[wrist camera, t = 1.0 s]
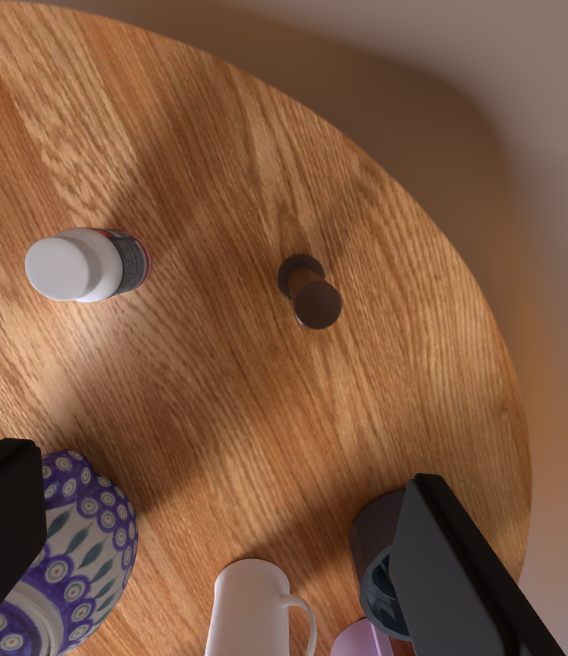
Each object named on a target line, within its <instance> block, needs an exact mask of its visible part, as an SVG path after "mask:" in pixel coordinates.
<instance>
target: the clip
mask: <svg viewBox="0 0 568 656" xmlns="http://www.w3.org/2000/svg"><path fill="white" fill-rule="evenodd" d="M411 643H412V642H411ZM412 646H413V643H412ZM413 649H414V646H413ZM414 652H415V649H414ZM415 655H416V652H415ZM330 656H394V654H393V650H392V647H391V643H390V639H389V636H388V635H387V634H385V633H383V632H381V631H379V630H378V629H377V628H376V627H375V626H374V625H373V624H372V623H371V622H370V621H369V620H368V619H367V618H365V619H362V620H359V621H357V622H355V623H353V624H351V625H350V626H348V627H347V628H345V629H344V630H343V631H342V632H341V633H340V634H339V635H338V636H337V638H336V639H335V641H334V643H333V645H332V648H331V652H330ZM416 656H417V655H416Z"/></svg>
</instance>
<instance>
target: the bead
mask: <svg viewBox="0 0 568 656" xmlns="http://www.w3.org/2000/svg"><path fill="white" fill-rule="evenodd" d="M386 574H387V578H388V580H389V582H390V583H391V584H392V585H393V583H392V580H391V577H390V572H389V567H388V568H387V573H386Z"/></svg>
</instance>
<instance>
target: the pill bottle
mask: <svg viewBox="0 0 568 656" xmlns="http://www.w3.org/2000/svg"><path fill="white" fill-rule="evenodd" d="M25 269H26V273H27V276H28V279H29V281H30V282H31V284H32V285H33V286H34V288H35V289H36V290H37V291H38V292H40V293H41V294H42V295H44V296H46V297H48V298H50V299H53V300H58V301H68V300H75V301H78V302H86V303H88V302H96V301H100V300H103V299H106V298H109V297H112V296H114V295H117V294H120V293H124V292H127V291H131V290H134V289H136V288H138V287H140V286H141V285H142V284H143V283H144V282H145V281H146V280H147V278H148V276H149V273H150V270H151V259H150V255H149V252H148V250H147V248H146V246H145V245H144V243H143V242H142V241H141V240H140V239H139V238H138V237H136V236H135V235H133V234H131V233H129V232H127V231H123V230H114V229H96V228H71V229H67V230H64V231H62V232H60V233H58V234H57V235H55V236H54V237H46V238H43V239H40V240H38V241H37V242H35V243H34V244H33V245H32V246H31V247H30V248H29V250H28V252H27V255H26V258H25Z"/></svg>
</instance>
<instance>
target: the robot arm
mask: <svg viewBox="0 0 568 656" xmlns="http://www.w3.org/2000/svg"><path fill="white" fill-rule="evenodd" d="M46 539H47V522H46V509H45V496H44V483H43V470H42V457H41V450H40V448H39V447H36V445H35V443H34V441H32V440H28V439H16V438H4V439H2V440H0V605H1V603H2V602H3V601H4V599H5V598H6V597H7V595H8V594H9V593H10V592H11V590H12V589H13V588H14V586H15V585H16V584H17V582H18V581H19V580H20V578H21V577H22V576H23V575H24V573H25V572H26V571H27V569H28V568H29V567H30V565H31V564H32V563H33V561H34V560H35V559H36V557H37V556H38V555H39V554H40V552H41V551H42V549H43V547H44V545H45V542H46ZM389 572H390V577H391V580H392V583H393V586H394V589H395V592H396V595H397V598H398V601H399V604H400V607H401V610H402V613H403V616H404V619H405V622H406V625H407V628H408V631H409V634H410V637H411V640H412V643H413V646H414V649H415V652H416V655H417V656H566V655H565V654H564V653H563V651H562V649H561V648H560V647H559V645H558V644H557V642H556V641H555V639H554V638H553V636H552V635H551V633H550V632H549V631H548V629H547V628H546V626H545V625H544V623H543V622H542V620H541V619H540V618H539V616H538V615H537V613H536V612H535V610H534V609H533V607H532V606H531V605H530V603H529V602H528V600H527V599H526V597H525V596H524V594H523V593H522V592H521V590H520V589H519V587H518V586H517V584H516V583H515V581H514V580H513V578H512V577H511V576H510V574H509V573H508V571H507V570H506V568H505V567H504V565H503V564H502V563H501V561H500V560H499V558H498V557H497V555H496V554H495V552H494V551H493V550H492V548H491V547H490V545H489V544H488V542H487V541H486V539H485V538H484V537H483V535H482V534H481V532H480V531H479V529H478V528H477V526H476V525H475V524H474V522H473V521H472V519H471V518H470V516H469V515H468V513H467V512H466V511H465V509H464V508H463V506H462V505H461V503H460V502H459V500H458V499H457V498H456V496H455V495H454V493H453V492H452V490H451V489H450V487H449V486H448V485H447V483H446V482H445V480H444V479H443V478H442V477H441V476H440V475H434V474H422V473H417V474H416V475H415V476H414V479H409V480H408V482H407V486H406V490H405V494H404V498H403V503H402V507H401V511H400V516H399V520H398V524H397V528H396V533H395V537H394V541H393V545H392V550H391V554H390V558H389Z"/></svg>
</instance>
